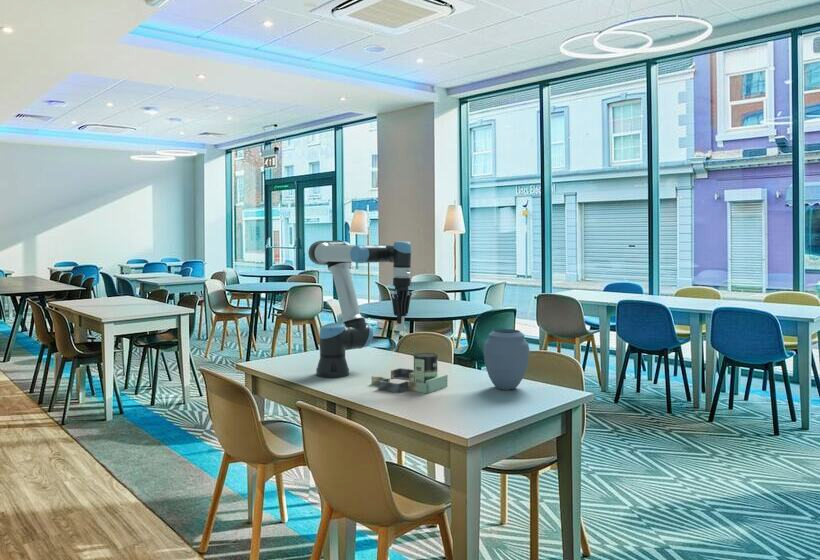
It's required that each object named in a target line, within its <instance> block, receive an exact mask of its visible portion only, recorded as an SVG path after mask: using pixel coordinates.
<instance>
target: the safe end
mask: <svg viewBox="0 0 820 560" xmlns="http://www.w3.org/2000/svg"><path fill="white" fill-rule="evenodd" d="M446 387H448V374H442V375H439V376H437V377H436V378H433V379H430V380H426V384H425V383H418V392H419V393H424V394H425V393H426V394H430V393H432V392H436V391H438V390H441V389H444V388H446Z"/></svg>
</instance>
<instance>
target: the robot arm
mask: <svg viewBox="0 0 820 560" xmlns="http://www.w3.org/2000/svg"><path fill="white" fill-rule="evenodd" d="M307 253H308V258H309V259H310V261H311V262H312V263H313V264H315V265H320V266H327V270H328V271H329V272H331V273H332V277H333V281H334V286H335V289H336V295H337V298H338V303H339V308H340V311H341V316H342V321H341V322H330V323H327V324H324V325H322V326H321V327H320V330H319V360H318V363H317V367H316V373H315V374H316V376H317V377H321V378H342V377H346V376H349V375H350V367H349V365H348V363H347V362H348V361H347V359H346V351H349V350H356V349H357V350H358V349H363V348H368V347H369V346H370V344H371V343H372V341H373V338H374V330H373V327H372V325H371V324H370V323H369V322H366V318H365V316H362V315H361V311H360V307H359V303H358V299H357V298H358V297H357V295H356V291H355V286H354V282H353V279H352V278H353V277H352V273H351V270H350V269H351V266H352V263H356V264H368V263H371V264H372V263H392V264H393V269H392V276H393V278H392V286H393V287H394V291H393V293H390V297H391V304H392V311H393V315H394V316H395V317H396V326H397V327H396V331H399V332H404V331H405V318H406V317H407V316H408V314H409V310H410V303H411V297H412V294H413V293H412V291H409V289H410V288H409V287H411V278H410V277H411V264H412V263H411V261H412V244H411V242H410V241H394V242H393V245H389V244H377V245H376V244H371V245H368V244H367V245H366V244H365V245H363V244H359V245H358V244H357V245H354V244H353V245H351V244H350V242H347V241H346V240H338V239H337V240H318V241H315V242H313V243H312V244H311V245H310V246H309V247H308V251H307Z"/></svg>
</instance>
